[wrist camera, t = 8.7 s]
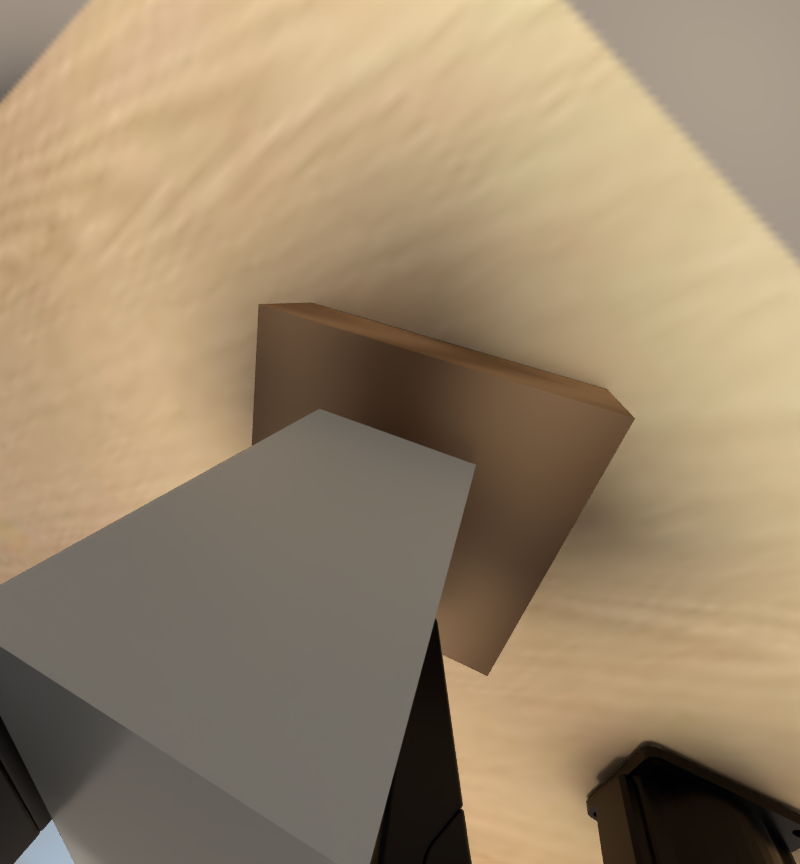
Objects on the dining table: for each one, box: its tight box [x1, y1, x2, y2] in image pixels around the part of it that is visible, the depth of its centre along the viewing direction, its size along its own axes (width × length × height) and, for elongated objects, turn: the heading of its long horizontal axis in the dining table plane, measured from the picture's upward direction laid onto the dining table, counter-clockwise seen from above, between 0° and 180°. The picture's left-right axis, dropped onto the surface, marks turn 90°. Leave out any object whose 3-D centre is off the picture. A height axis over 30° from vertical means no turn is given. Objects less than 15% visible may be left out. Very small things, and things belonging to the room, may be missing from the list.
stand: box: [252, 303, 635, 676], centre depth 13 cm, size 11×11×3 cm
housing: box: [0, 409, 476, 864], centre depth 7 cm, size 7×4×7 cm, turn 166°
